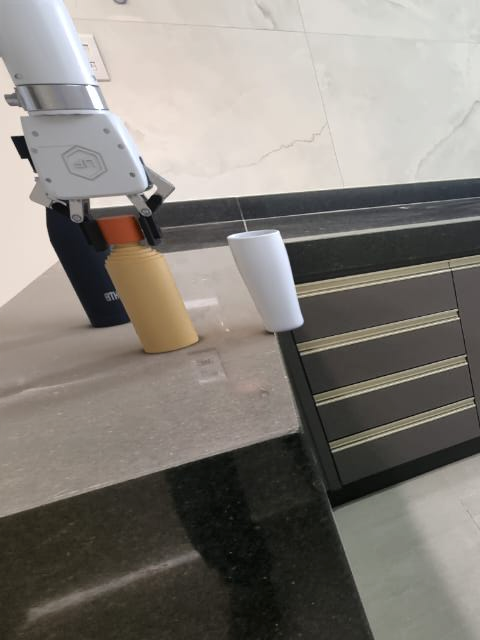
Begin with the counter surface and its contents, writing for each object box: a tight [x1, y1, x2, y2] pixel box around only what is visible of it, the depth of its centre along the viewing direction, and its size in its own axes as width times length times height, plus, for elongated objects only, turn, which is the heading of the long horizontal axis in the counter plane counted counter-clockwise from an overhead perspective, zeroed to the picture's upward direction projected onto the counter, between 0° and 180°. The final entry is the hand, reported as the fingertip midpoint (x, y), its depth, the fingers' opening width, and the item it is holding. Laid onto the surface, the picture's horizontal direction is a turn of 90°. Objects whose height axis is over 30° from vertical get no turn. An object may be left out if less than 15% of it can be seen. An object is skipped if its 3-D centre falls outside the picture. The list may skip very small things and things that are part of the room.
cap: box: [95, 214, 146, 245], centre depth 73 cm, size 4×4×3 cm
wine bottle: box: [10, 135, 131, 328], centre depth 86 cm, size 6×6×30 cm
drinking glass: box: [226, 229, 305, 334], centre depth 81 cm, size 7×7×15 cm
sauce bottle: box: [105, 241, 199, 354], centre depth 76 cm, size 6×6×18 cm
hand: (129, 245), depth 74 cm, fingers open, 5 cm apart
